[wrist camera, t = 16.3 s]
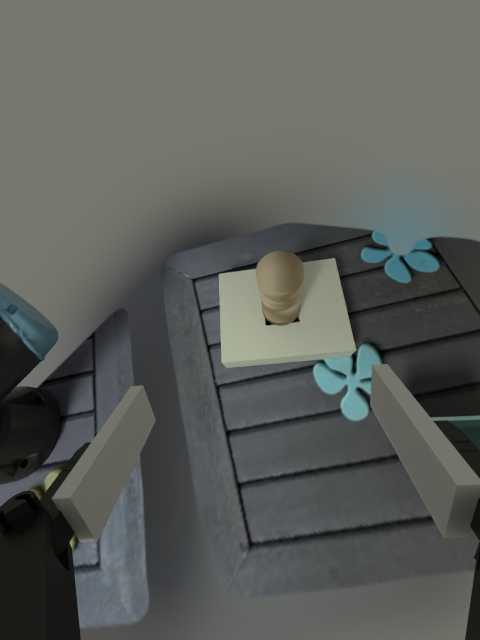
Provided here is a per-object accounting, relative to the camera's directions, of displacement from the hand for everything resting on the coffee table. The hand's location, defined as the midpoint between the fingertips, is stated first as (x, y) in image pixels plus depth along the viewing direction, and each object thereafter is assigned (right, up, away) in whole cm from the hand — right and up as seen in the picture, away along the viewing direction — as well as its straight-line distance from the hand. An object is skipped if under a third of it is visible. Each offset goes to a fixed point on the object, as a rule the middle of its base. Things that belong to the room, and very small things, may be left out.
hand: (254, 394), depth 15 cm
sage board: (+6, +5, +31) cm, 32 cm away
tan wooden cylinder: (+6, +5, +30) cm, 31 cm away
